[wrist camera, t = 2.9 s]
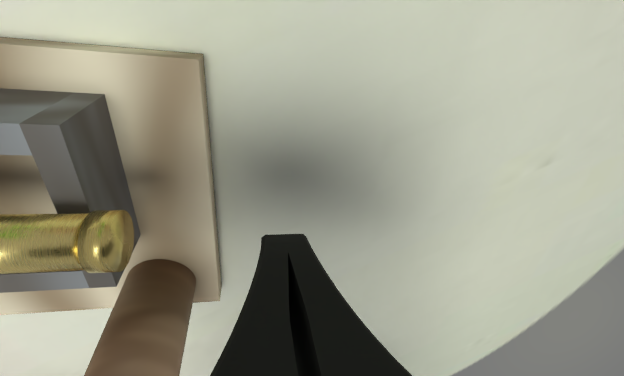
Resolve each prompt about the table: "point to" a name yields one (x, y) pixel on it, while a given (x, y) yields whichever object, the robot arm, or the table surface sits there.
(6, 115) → the dock
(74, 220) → the pin
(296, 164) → the table surface
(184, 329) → the peg
